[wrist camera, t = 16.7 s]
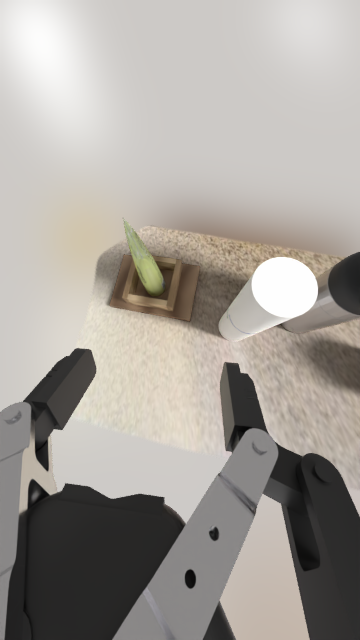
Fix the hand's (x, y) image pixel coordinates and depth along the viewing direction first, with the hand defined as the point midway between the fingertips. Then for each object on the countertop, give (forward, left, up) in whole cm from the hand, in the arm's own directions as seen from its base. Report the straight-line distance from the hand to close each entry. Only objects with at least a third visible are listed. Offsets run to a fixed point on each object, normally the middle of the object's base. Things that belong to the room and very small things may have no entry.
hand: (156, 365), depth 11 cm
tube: (-5, -19, -32) cm, 38 cm away
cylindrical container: (-15, 0, -34) cm, 37 cm away
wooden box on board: (-5, -19, -34) cm, 39 cm away
